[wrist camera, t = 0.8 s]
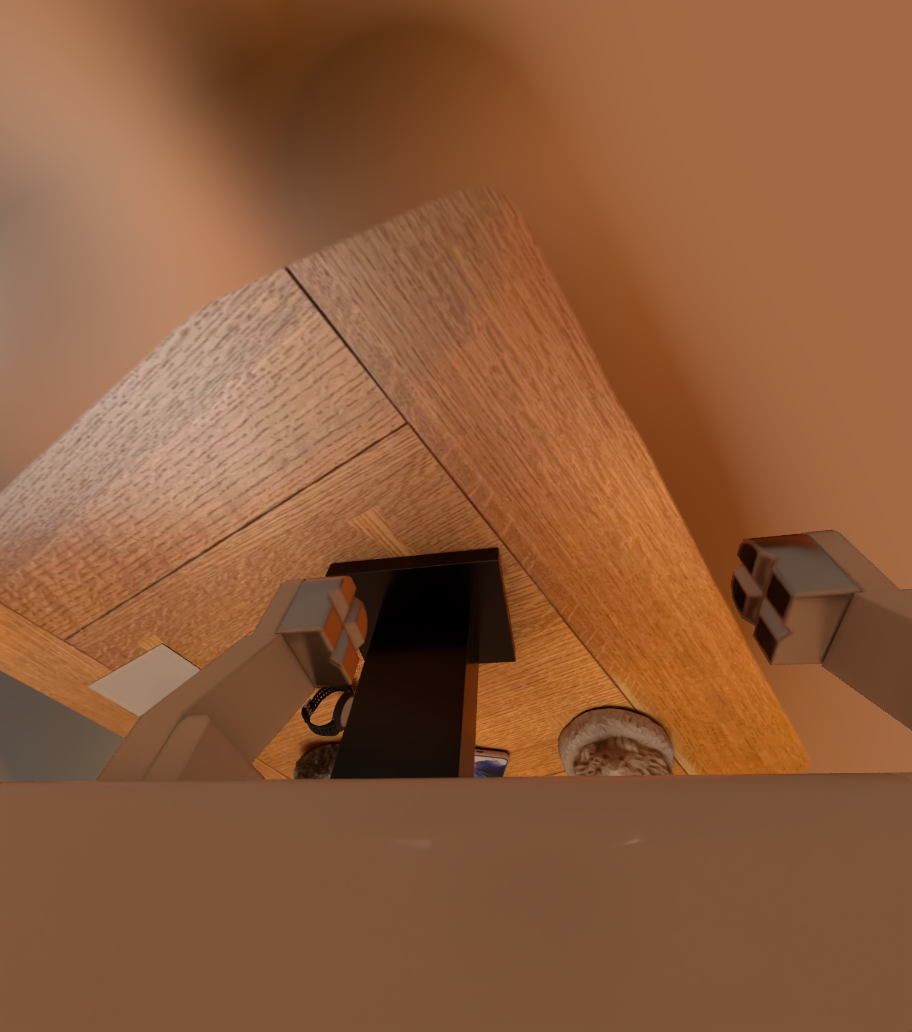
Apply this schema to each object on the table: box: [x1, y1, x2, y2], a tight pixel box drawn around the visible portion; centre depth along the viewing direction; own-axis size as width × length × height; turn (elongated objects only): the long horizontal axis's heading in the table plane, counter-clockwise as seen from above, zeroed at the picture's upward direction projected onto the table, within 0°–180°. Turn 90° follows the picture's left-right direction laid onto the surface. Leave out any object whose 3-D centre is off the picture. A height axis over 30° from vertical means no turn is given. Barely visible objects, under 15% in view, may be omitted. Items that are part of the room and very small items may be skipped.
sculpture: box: [559, 708, 674, 776], centre depth 45 cm, size 12×17×10 cm
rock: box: [294, 744, 340, 779], centre depth 52 cm, size 12×10×5 cm
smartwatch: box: [301, 685, 355, 736], centre depth 44 cm, size 4×5×5 cm
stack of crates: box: [87, 644, 200, 717], centre depth 48 cm, size 15×15×7 cm
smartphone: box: [474, 749, 509, 777], centre depth 55 cm, size 7×1×15 cm
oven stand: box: [325, 548, 516, 779], centre depth 25 cm, size 12×14×34 cm
